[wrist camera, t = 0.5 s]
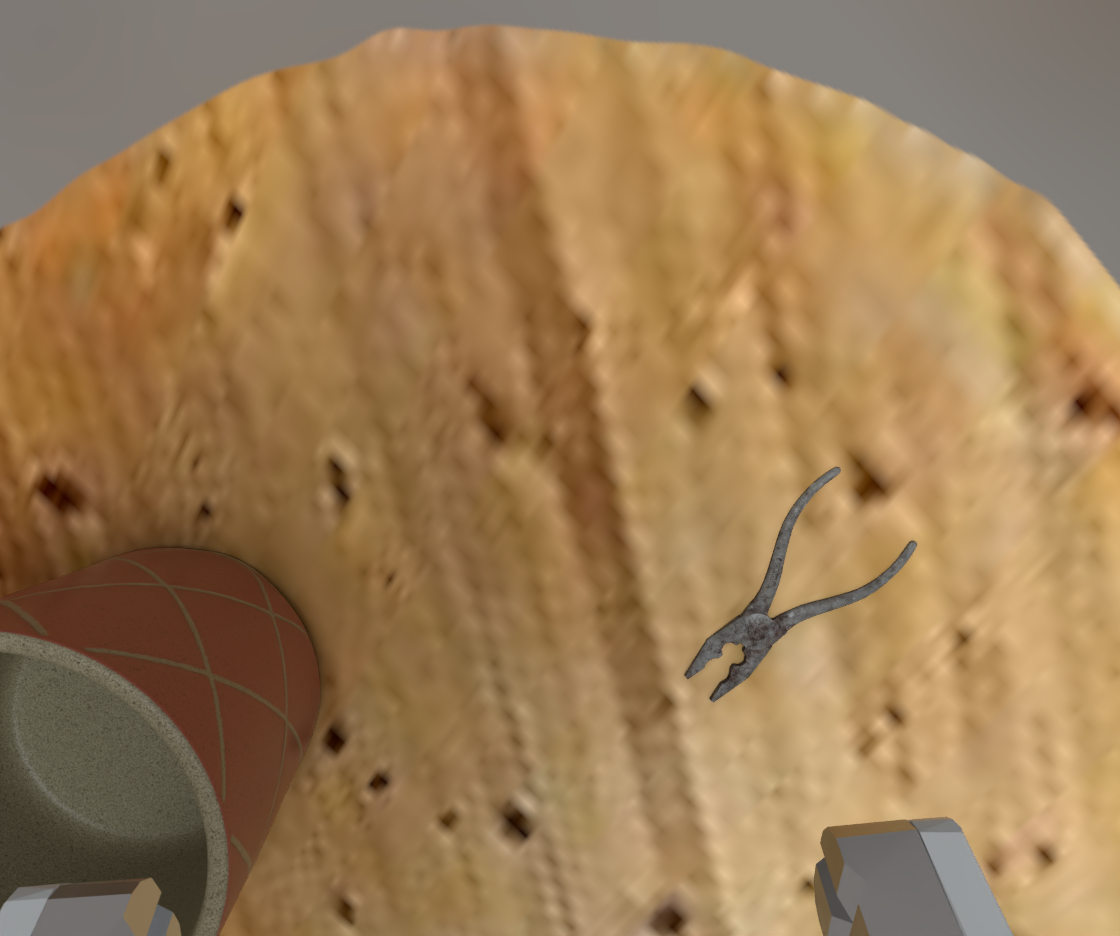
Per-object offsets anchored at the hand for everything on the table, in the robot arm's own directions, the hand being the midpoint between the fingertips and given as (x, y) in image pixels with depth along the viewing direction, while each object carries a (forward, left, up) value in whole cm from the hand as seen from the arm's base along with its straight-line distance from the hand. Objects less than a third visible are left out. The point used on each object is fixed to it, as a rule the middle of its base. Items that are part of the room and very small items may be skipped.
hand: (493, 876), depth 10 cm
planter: (-4, +30, -52) cm, 61 cm away
